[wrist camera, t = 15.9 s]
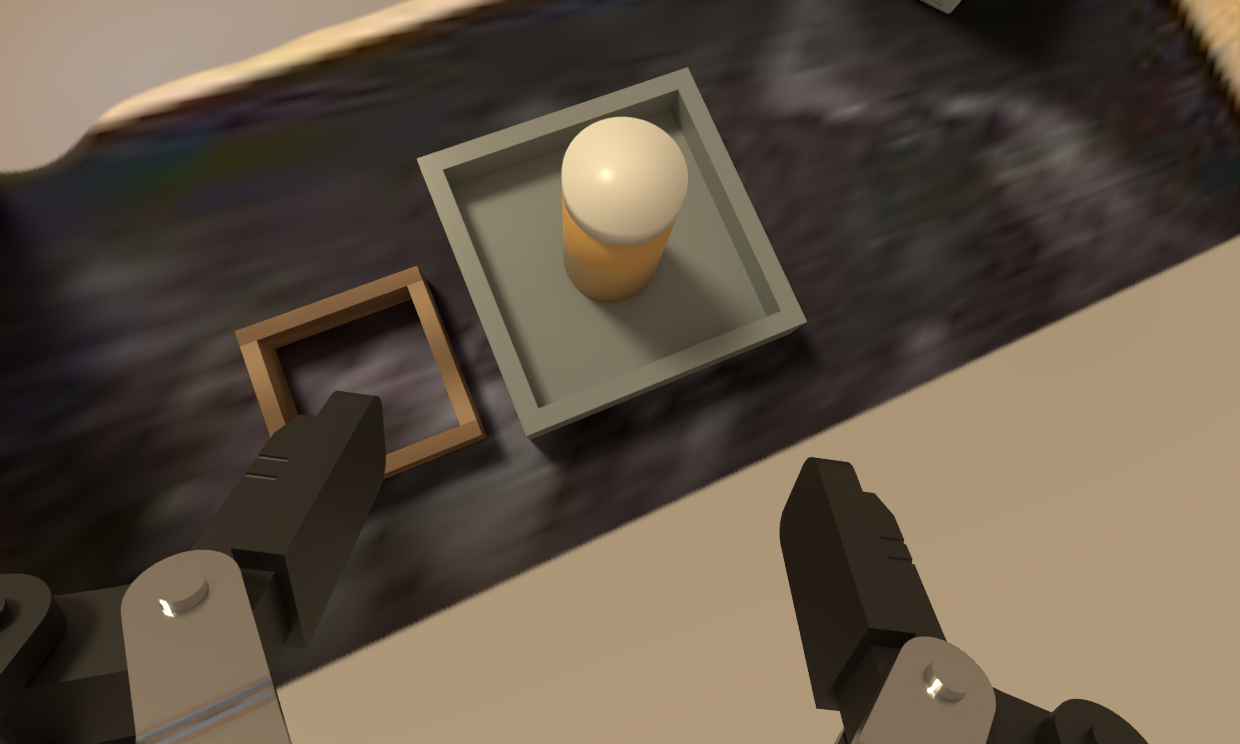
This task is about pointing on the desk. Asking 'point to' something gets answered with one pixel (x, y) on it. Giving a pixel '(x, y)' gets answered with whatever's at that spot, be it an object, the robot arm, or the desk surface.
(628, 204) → the pill bottle
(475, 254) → the tray
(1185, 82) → the desk surface
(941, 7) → the medicine box
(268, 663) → the robot arm
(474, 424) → the holder
